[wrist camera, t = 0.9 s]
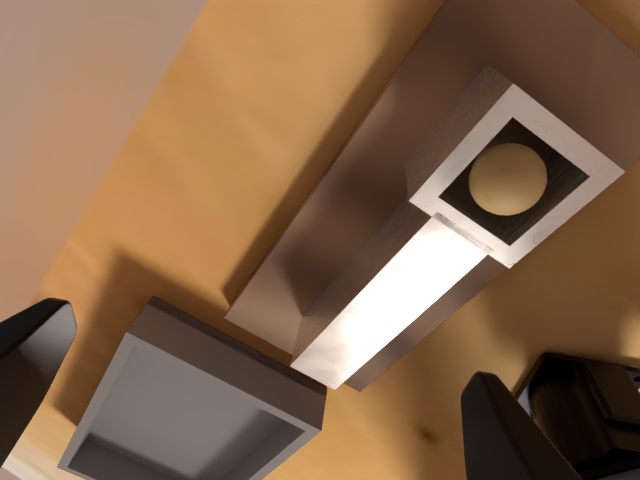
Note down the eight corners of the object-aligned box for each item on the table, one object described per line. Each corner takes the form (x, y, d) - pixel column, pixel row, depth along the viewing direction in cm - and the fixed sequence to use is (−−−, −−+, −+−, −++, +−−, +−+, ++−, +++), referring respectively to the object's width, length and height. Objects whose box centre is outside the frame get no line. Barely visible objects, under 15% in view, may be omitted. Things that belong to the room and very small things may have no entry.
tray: (214, 490, 42) (201, 528, 39) (81, 431, 39) (56, 467, 36) (327, 388, 31) (321, 430, 28) (152, 295, 28) (126, 331, 25)
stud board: (360, 377, 30) (356, 455, 25) (229, 306, 28) (196, 375, 23) (681, 101, 18) (797, 146, 13) (491, -65, 16) (542, -88, 11)
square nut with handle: (355, 346, 26) (352, 399, 23) (285, 307, 25) (271, 356, 22) (579, 137, 18) (625, 171, 14) (487, 64, 17) (513, 83, 13)
